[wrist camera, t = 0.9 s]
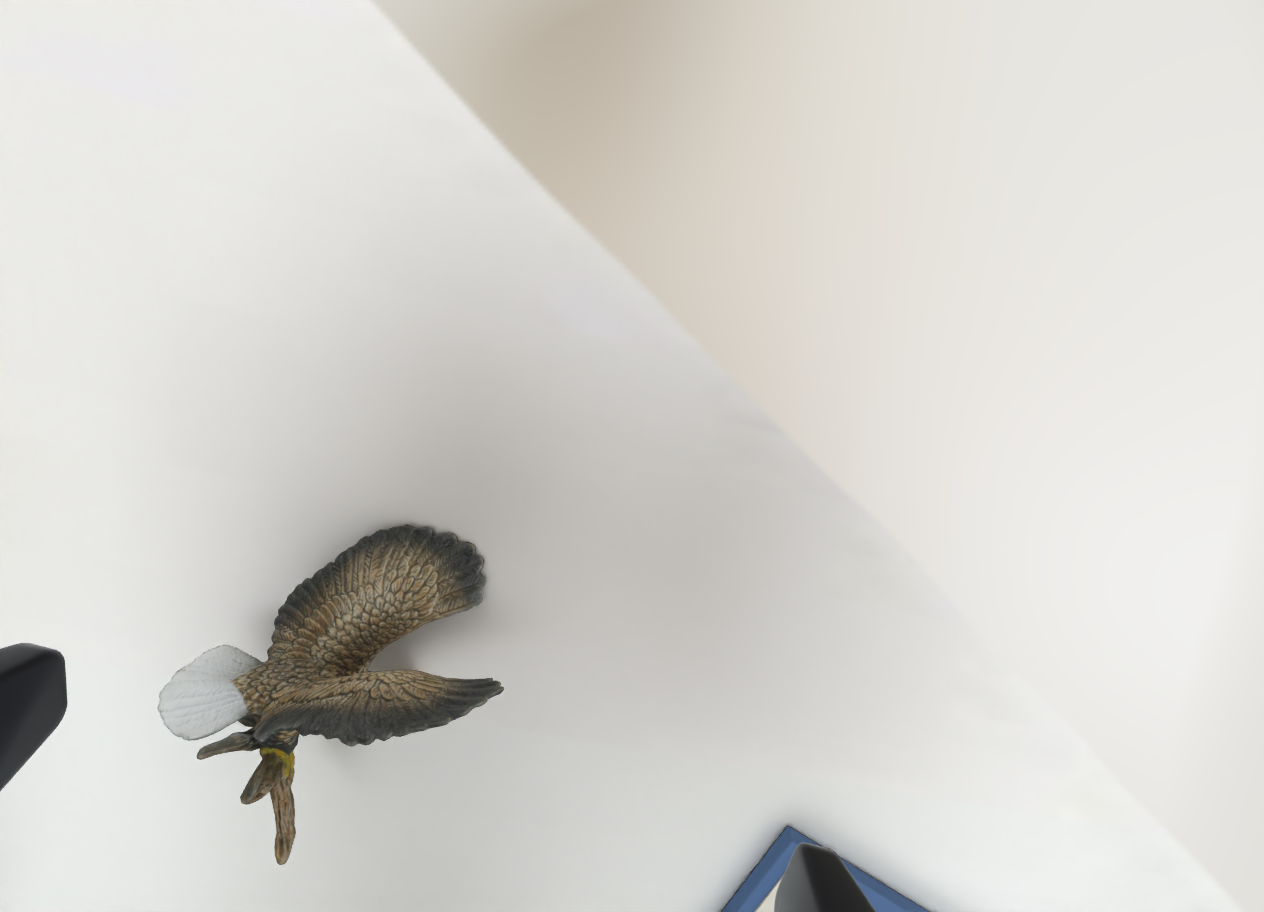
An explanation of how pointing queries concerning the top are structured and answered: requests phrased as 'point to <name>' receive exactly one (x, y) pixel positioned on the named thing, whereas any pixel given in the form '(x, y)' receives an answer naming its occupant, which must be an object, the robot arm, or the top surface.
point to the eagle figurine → (335, 663)
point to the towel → (758, 892)
